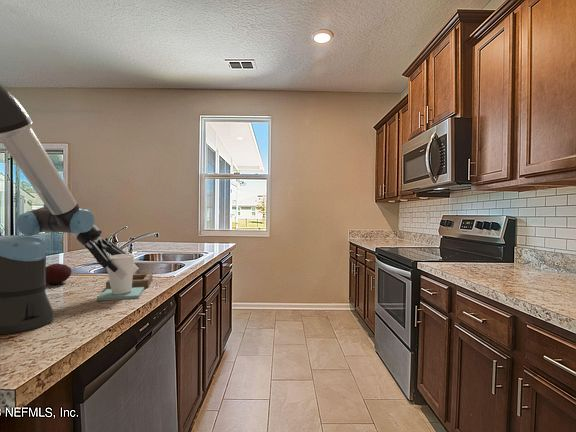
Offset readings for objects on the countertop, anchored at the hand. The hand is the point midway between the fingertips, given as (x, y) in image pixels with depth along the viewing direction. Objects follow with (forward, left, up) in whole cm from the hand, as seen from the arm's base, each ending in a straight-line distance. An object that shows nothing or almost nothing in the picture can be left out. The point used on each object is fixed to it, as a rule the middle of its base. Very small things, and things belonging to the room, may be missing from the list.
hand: (130, 273), depth 118 cm
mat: (+1, +3, -8) cm, 8 cm away
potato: (+28, +33, -8) cm, 44 cm away
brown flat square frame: (+18, +3, -8) cm, 19 cm away
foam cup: (+1, +3, -7) cm, 7 cm away
